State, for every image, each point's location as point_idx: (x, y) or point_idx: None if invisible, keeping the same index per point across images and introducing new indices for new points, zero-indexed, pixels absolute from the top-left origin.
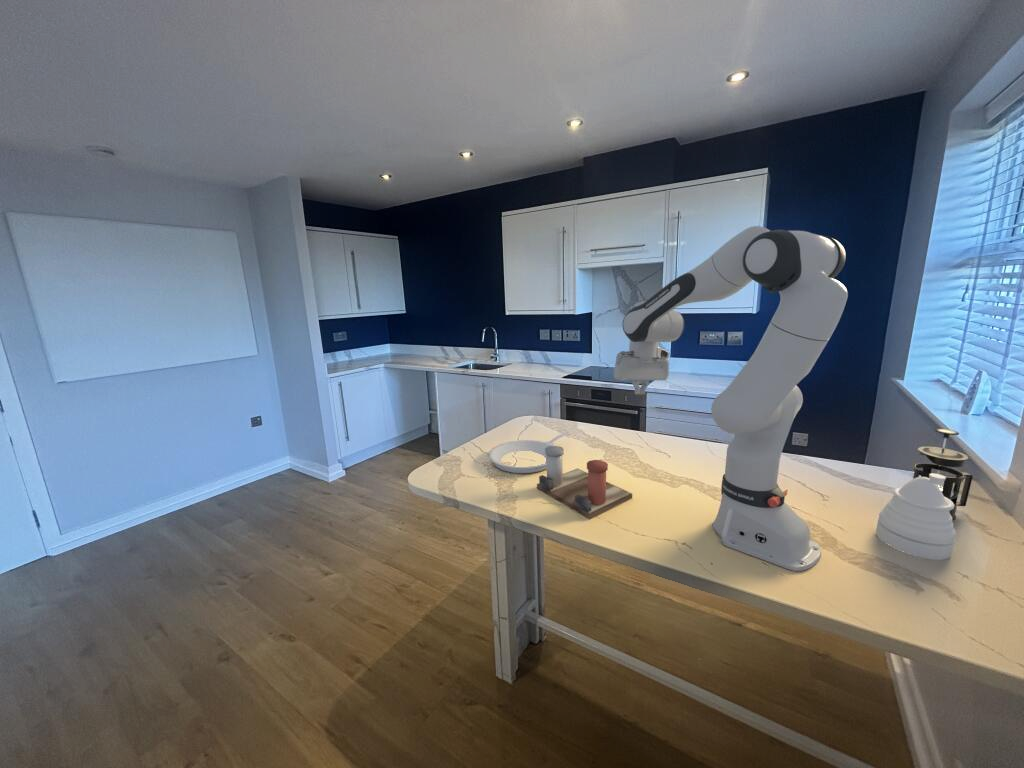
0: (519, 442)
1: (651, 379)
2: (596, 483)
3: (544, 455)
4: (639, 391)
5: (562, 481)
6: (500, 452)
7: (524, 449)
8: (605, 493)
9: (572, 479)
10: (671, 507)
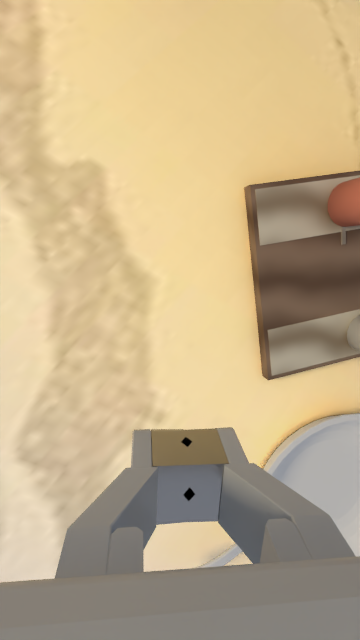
0: None
1: (12, 595)
2: None
3: None
4: (227, 442)
5: (356, 320)
6: (355, 535)
7: None
8: (354, 180)
9: (318, 329)
10: (193, 87)
